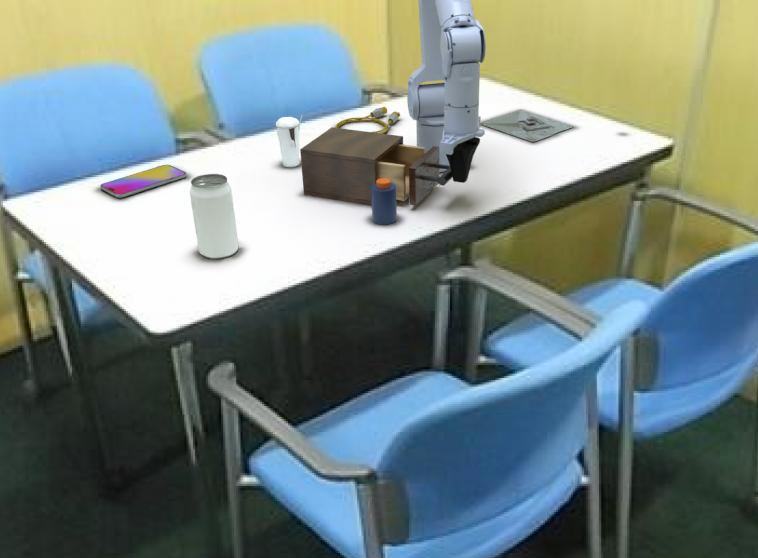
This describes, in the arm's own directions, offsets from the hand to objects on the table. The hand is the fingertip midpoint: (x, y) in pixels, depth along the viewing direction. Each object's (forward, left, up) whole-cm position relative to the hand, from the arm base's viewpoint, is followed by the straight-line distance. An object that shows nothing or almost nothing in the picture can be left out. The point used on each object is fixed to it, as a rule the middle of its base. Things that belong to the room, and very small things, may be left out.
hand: (460, 180), depth 166 cm
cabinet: (+15, -15, -4) cm, 21 cm away
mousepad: (-33, -28, -4) cm, 44 cm away
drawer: (+7, -7, -3) cm, 11 cm away
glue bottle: (+15, +1, -4) cm, 15 cm away
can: (+44, +1, -4) cm, 44 cm away
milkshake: (+22, -31, -4) cm, 38 cm away
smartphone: (+50, -33, -4) cm, 60 cm away
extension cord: (+1, -45, -4) cm, 45 cm away
